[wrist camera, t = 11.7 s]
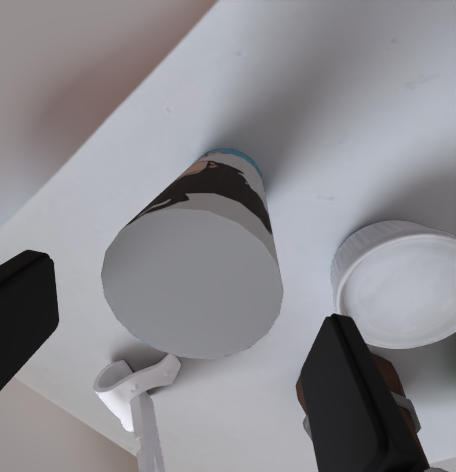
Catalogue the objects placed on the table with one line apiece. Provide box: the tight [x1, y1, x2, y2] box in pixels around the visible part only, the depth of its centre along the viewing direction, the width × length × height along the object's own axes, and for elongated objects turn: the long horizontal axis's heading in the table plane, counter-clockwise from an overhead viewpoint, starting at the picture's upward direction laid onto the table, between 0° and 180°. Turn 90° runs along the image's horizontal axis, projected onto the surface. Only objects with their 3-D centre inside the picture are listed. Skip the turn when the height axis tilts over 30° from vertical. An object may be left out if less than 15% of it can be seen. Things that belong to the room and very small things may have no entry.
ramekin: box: [331, 220, 456, 349], centre depth 23 cm, size 11×11×5 cm
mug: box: [296, 353, 430, 468], centre depth 26 cm, size 16×12×15 cm
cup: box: [101, 149, 283, 359], centre depth 16 cm, size 7×7×15 cm
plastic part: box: [93, 354, 181, 472], centre depth 29 cm, size 8×10×12 cm
